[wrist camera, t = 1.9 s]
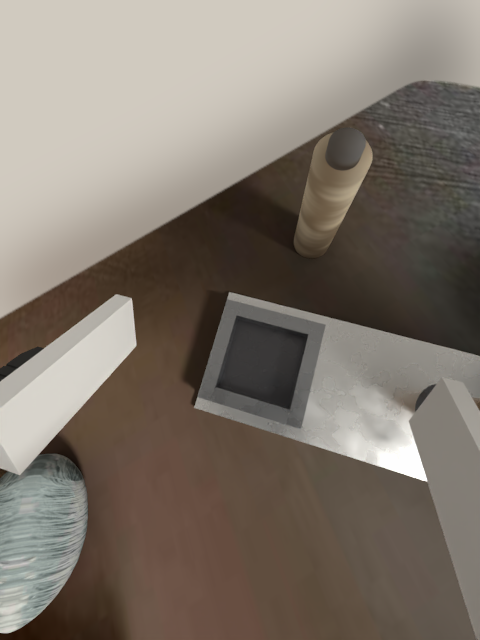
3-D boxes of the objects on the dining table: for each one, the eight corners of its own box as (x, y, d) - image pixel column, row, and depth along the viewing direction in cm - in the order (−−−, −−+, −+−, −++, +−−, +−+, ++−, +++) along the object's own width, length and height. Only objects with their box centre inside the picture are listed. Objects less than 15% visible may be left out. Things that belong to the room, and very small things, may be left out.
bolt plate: (511, 365, 30) (720, 355, 17) (496, 502, 28) (724, 624, 14) (229, 293, 35) (208, 237, 21) (195, 406, 32) (144, 429, 18)
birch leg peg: (332, 230, 35) (384, 122, 20) (324, 262, 34) (372, 174, 20) (298, 222, 36) (323, 112, 21) (289, 254, 35) (309, 163, 20)
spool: (0, 440, 30) (-59, 508, 21) (99, 436, 33) (87, 492, 24) (-11, 560, 31) (-73, 678, 21) (87, 544, 34) (70, 640, 25)
